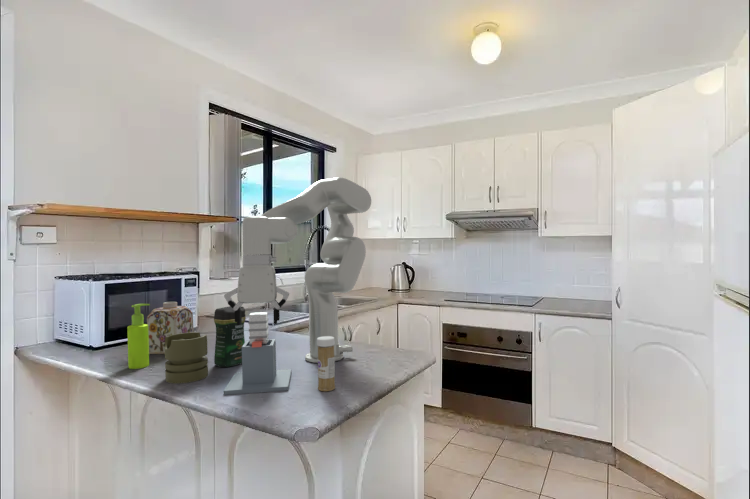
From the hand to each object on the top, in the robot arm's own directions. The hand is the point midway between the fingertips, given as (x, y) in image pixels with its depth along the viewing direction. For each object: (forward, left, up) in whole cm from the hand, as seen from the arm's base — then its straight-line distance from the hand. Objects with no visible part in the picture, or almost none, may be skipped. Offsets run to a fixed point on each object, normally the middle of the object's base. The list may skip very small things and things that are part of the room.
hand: (257, 324), depth 115 cm
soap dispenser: (+41, -26, -17) cm, 51 cm away
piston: (+22, -10, -17) cm, 29 cm away
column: (0, 0, -15) cm, 15 cm away
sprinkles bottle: (-18, +9, -17) cm, 26 cm away
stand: (0, 0, -16) cm, 16 cm away
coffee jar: (+12, -22, -17) cm, 30 cm away
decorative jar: (+38, -46, -17) cm, 62 cm away
